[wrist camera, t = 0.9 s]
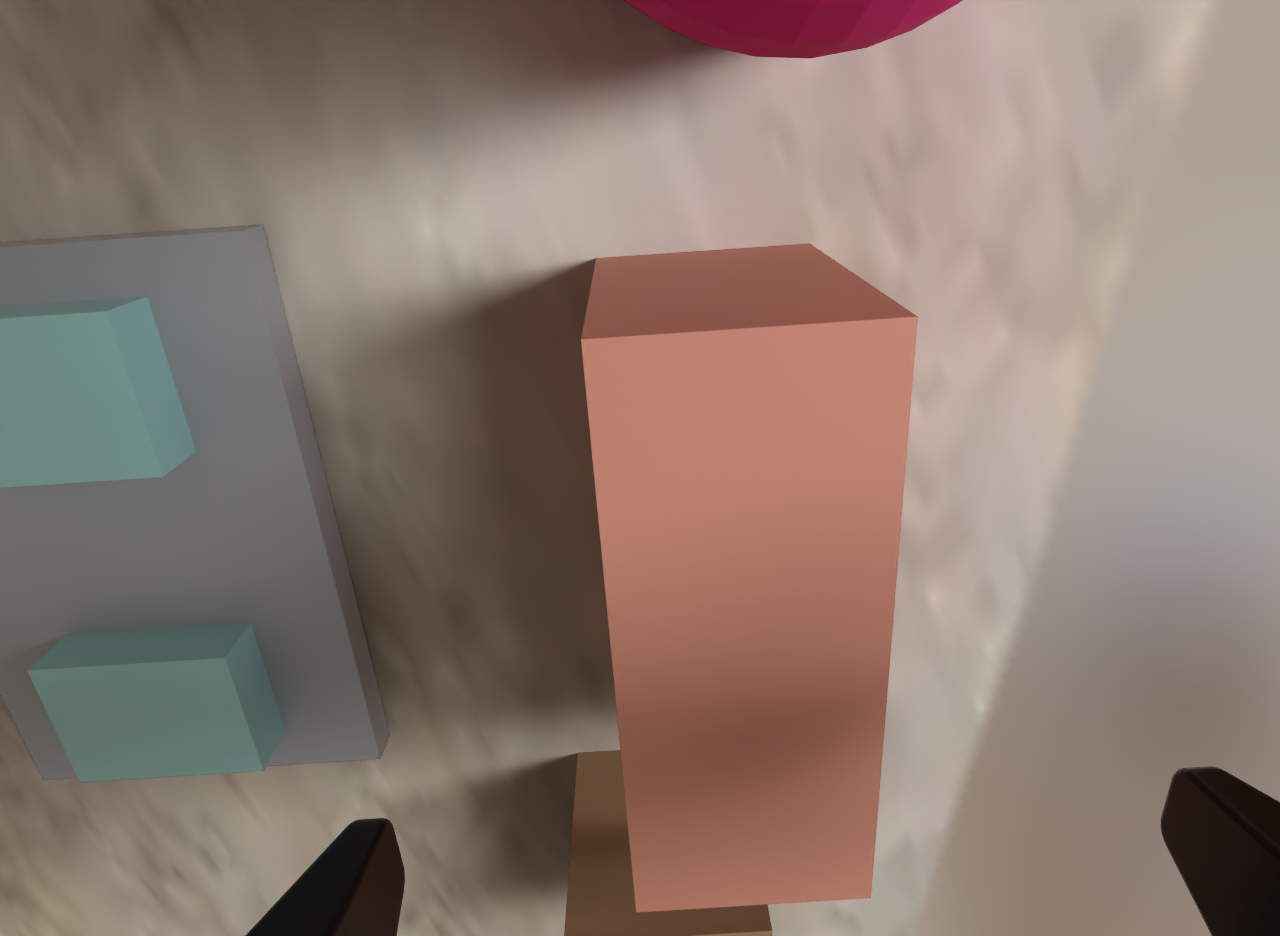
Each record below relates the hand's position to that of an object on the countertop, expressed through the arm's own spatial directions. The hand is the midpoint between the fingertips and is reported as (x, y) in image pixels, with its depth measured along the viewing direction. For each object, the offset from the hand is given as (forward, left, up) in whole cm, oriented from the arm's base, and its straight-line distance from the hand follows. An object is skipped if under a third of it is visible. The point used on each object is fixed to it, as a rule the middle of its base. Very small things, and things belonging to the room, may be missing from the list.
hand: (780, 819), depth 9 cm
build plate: (0, +12, -8) cm, 15 cm away
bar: (0, 0, -9) cm, 9 cm away
